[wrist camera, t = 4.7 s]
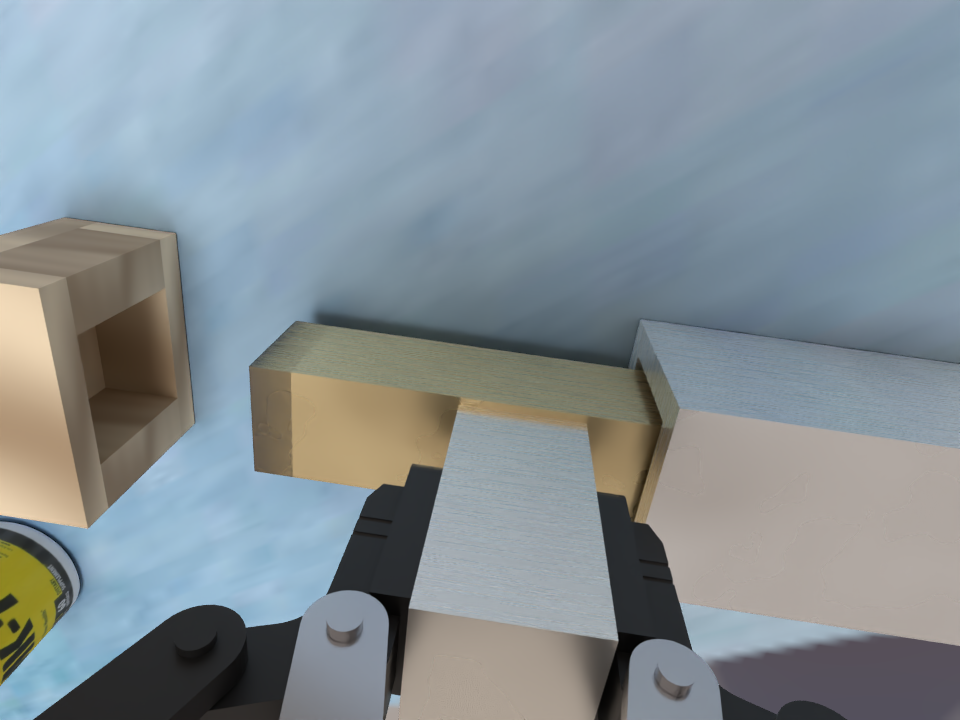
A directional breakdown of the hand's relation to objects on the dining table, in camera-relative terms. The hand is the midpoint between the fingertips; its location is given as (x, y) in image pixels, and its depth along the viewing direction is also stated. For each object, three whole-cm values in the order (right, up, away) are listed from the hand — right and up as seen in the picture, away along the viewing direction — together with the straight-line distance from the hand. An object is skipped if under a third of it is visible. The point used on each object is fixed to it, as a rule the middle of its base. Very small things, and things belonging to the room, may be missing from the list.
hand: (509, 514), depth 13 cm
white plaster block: (+9, +1, +5) cm, 10 cm away
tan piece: (+3, +2, +5) cm, 6 cm away
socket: (-11, +4, +6) cm, 13 cm away
